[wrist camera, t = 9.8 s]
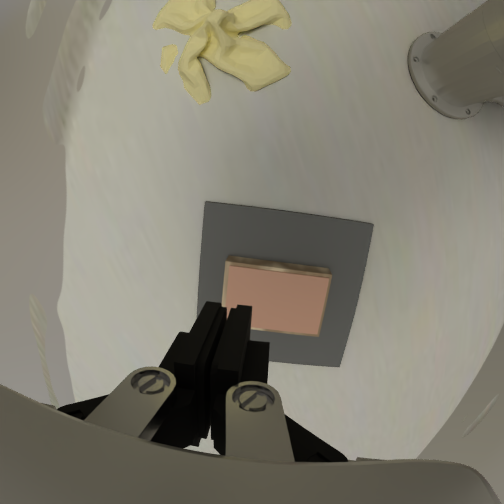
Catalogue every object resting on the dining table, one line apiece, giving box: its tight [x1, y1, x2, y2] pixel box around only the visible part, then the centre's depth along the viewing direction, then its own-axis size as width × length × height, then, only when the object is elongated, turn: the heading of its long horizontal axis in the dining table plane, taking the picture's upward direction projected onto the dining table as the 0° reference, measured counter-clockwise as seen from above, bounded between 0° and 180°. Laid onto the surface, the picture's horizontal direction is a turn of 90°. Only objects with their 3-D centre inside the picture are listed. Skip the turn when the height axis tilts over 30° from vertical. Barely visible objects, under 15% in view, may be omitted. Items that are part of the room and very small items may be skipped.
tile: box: [222, 255, 332, 337], centre depth 36 cm, size 3×8×12 cm
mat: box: [197, 202, 374, 367], centre depth 38 cm, size 20×20×1 cm
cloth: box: [153, 0, 292, 105], centre depth 28 cm, size 22×19×6 cm
